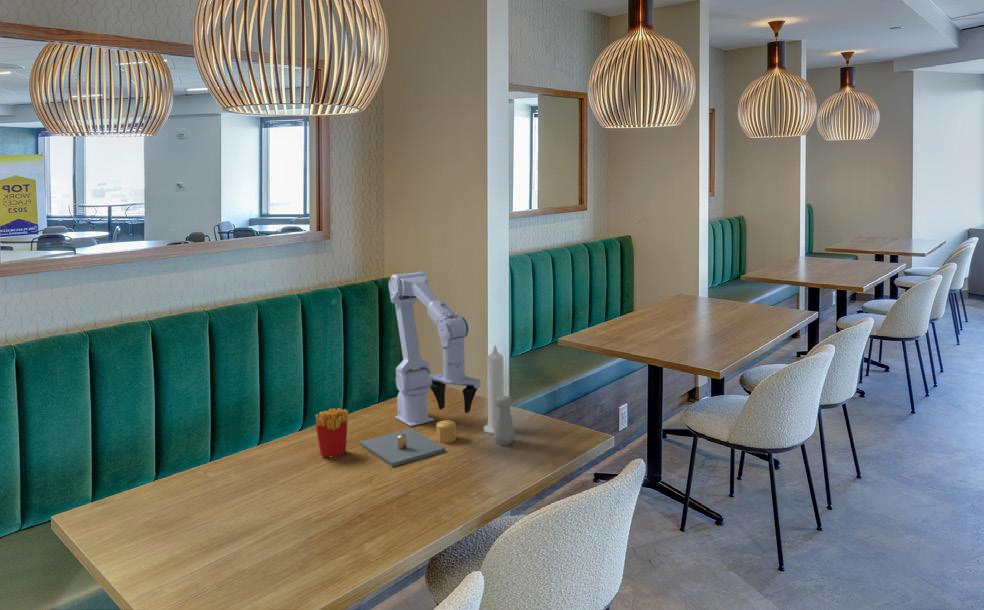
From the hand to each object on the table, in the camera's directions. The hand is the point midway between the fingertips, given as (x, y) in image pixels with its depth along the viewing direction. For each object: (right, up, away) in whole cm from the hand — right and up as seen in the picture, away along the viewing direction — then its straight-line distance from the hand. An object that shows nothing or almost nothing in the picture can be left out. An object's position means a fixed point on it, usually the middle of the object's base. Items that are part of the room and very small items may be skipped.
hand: (454, 410), depth 201 cm
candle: (+11, -7, +11) cm, 18 cm away
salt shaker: (+13, -9, +2) cm, 16 cm away
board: (-14, -10, -1) cm, 17 cm away
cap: (-3, -9, +5) cm, 10 cm away
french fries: (-32, -11, -4) cm, 34 cm away
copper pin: (-14, -11, -4) cm, 18 cm away
